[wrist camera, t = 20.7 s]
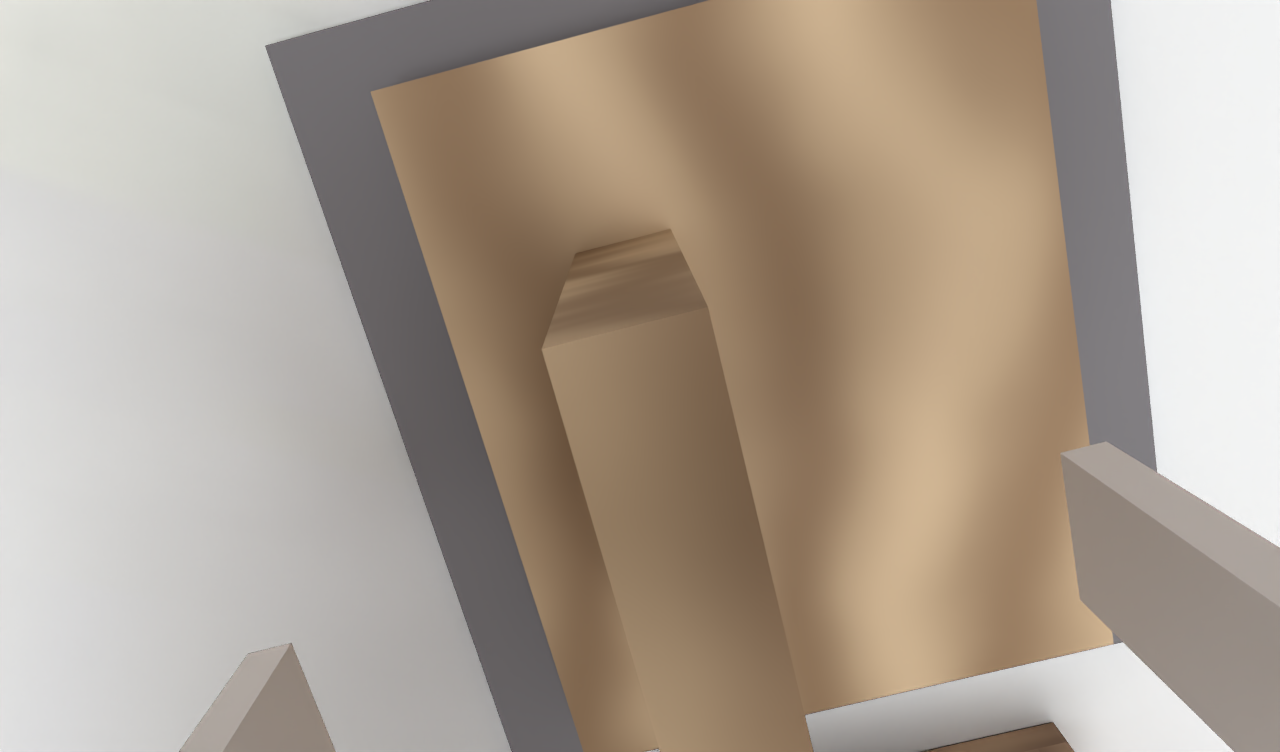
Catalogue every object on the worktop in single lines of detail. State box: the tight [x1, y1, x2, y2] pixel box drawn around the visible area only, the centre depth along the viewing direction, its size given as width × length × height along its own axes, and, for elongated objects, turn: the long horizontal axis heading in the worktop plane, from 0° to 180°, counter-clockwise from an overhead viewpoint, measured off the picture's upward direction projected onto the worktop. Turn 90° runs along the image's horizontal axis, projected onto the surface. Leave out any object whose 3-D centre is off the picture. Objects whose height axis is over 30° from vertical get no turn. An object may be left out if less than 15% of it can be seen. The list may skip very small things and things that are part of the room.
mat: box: [265, 0, 1157, 752], centre depth 26 cm, size 22×24×1 cm
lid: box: [371, 0, 1114, 752], centre depth 20 cm, size 16×20×12 cm
